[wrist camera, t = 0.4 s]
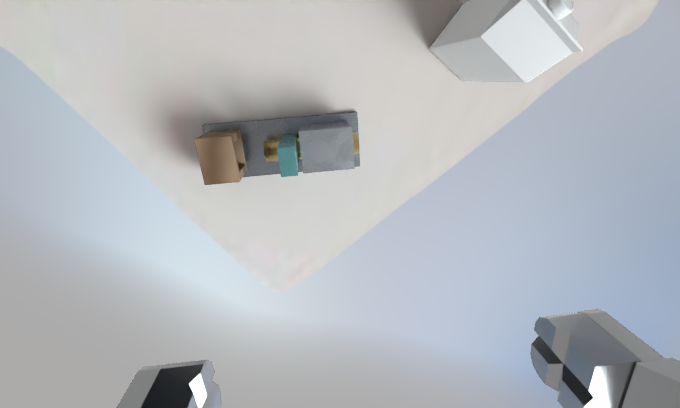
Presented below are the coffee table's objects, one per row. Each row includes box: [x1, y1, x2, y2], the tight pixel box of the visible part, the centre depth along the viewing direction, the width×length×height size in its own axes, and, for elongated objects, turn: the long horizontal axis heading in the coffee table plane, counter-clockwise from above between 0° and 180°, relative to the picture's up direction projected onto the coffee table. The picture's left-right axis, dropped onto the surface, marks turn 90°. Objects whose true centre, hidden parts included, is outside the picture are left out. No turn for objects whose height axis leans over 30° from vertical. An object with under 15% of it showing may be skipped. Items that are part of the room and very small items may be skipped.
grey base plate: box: [202, 112, 360, 177], centre depth 46 cm, size 22×8×6 cm, turn 94°
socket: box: [194, 130, 247, 185], centre depth 46 cm, size 4×6×6 cm
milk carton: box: [429, 0, 583, 83], centre depth 37 cm, size 7×7×19 cm
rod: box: [263, 133, 359, 177], centre depth 44 cm, size 13×4×10 cm, turn 94°
